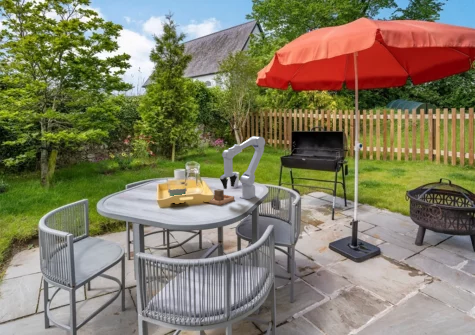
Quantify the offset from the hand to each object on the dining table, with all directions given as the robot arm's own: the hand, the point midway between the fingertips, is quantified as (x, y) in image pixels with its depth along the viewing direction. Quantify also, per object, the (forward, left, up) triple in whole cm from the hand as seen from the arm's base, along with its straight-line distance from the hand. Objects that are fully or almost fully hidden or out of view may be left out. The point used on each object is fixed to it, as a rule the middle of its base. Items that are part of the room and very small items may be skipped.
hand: (228, 187), depth 204 cm
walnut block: (+4, -6, -9) cm, 11 cm away
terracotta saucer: (+4, -6, -9) cm, 12 cm away
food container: (+24, -25, -10) cm, 36 cm away
